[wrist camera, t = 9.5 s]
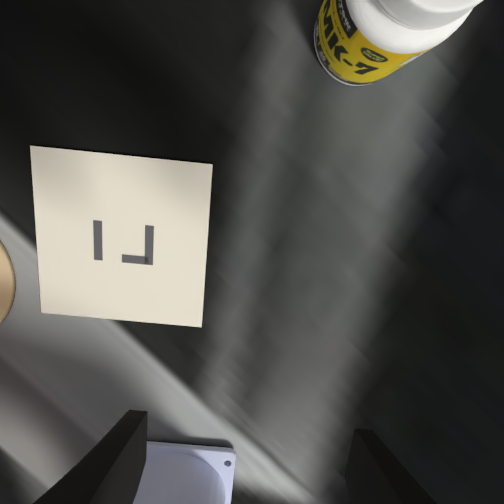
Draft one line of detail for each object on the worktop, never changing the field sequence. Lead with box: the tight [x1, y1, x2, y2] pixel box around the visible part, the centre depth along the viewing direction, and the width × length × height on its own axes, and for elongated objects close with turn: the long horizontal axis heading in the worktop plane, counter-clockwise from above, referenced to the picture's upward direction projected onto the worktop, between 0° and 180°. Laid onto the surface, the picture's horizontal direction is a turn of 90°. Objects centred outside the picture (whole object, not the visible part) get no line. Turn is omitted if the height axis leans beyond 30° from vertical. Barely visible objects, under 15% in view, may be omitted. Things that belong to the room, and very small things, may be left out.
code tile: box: [30, 146, 213, 327], centre depth 20 cm, size 10×10×1 cm
